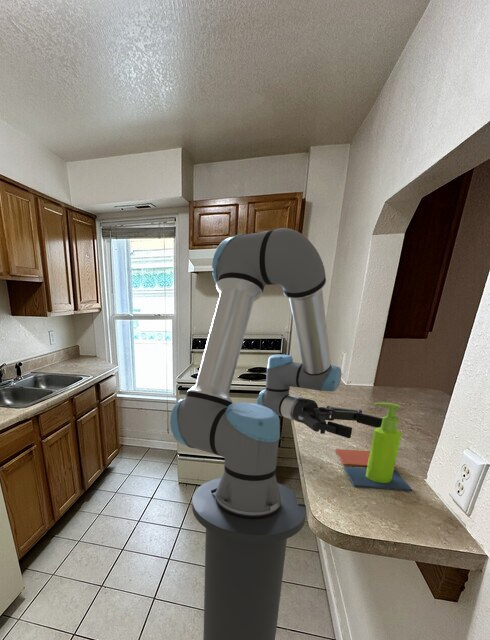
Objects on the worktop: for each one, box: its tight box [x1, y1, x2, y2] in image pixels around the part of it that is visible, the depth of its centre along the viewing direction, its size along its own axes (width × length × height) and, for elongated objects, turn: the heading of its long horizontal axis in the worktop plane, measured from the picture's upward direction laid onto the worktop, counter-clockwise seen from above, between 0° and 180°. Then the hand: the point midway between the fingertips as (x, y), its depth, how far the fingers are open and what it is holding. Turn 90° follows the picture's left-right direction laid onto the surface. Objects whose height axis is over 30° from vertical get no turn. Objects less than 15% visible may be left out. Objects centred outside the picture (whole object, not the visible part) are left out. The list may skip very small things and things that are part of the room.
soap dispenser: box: [366, 401, 403, 483], centre depth 90 cm, size 6×7×20 cm
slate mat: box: [343, 466, 413, 492], centre depth 93 cm, size 13×11×1 cm
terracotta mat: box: [335, 448, 395, 469], centre depth 105 cm, size 13×11×1 cm
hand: (366, 428), depth 92 cm, fingers open, 13 cm apart
